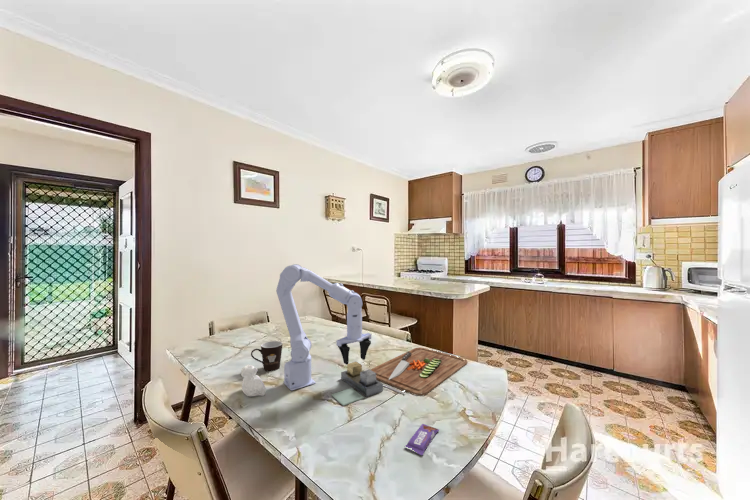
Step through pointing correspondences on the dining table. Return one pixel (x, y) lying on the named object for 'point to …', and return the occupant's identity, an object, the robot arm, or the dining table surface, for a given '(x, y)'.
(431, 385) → the chopping board
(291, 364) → the robot arm
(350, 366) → the tan wooden block
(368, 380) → the gray metal block
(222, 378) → the dining table surface
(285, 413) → the dining table surface
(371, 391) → the gray slotted board
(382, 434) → the dining table surface
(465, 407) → the dining table surface
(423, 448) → the snack package
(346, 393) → the mat
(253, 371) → the bust
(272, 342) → the coffee mug
